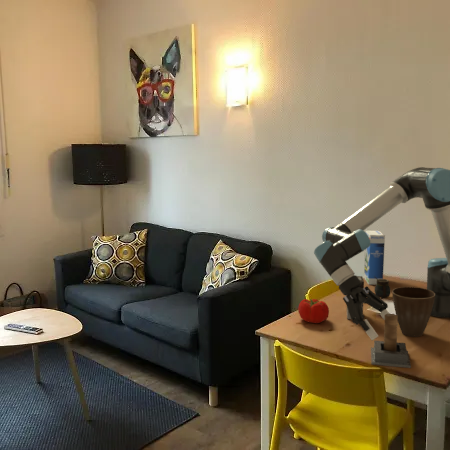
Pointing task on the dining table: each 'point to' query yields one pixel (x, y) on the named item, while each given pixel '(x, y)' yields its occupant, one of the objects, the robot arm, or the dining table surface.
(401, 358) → the grey square socket base
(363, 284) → the coffee box
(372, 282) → the string lights box
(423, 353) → the dining table surface
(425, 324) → the plant pot
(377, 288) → the mate gourd
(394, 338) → the brown wooden cylinder
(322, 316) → the tomato
